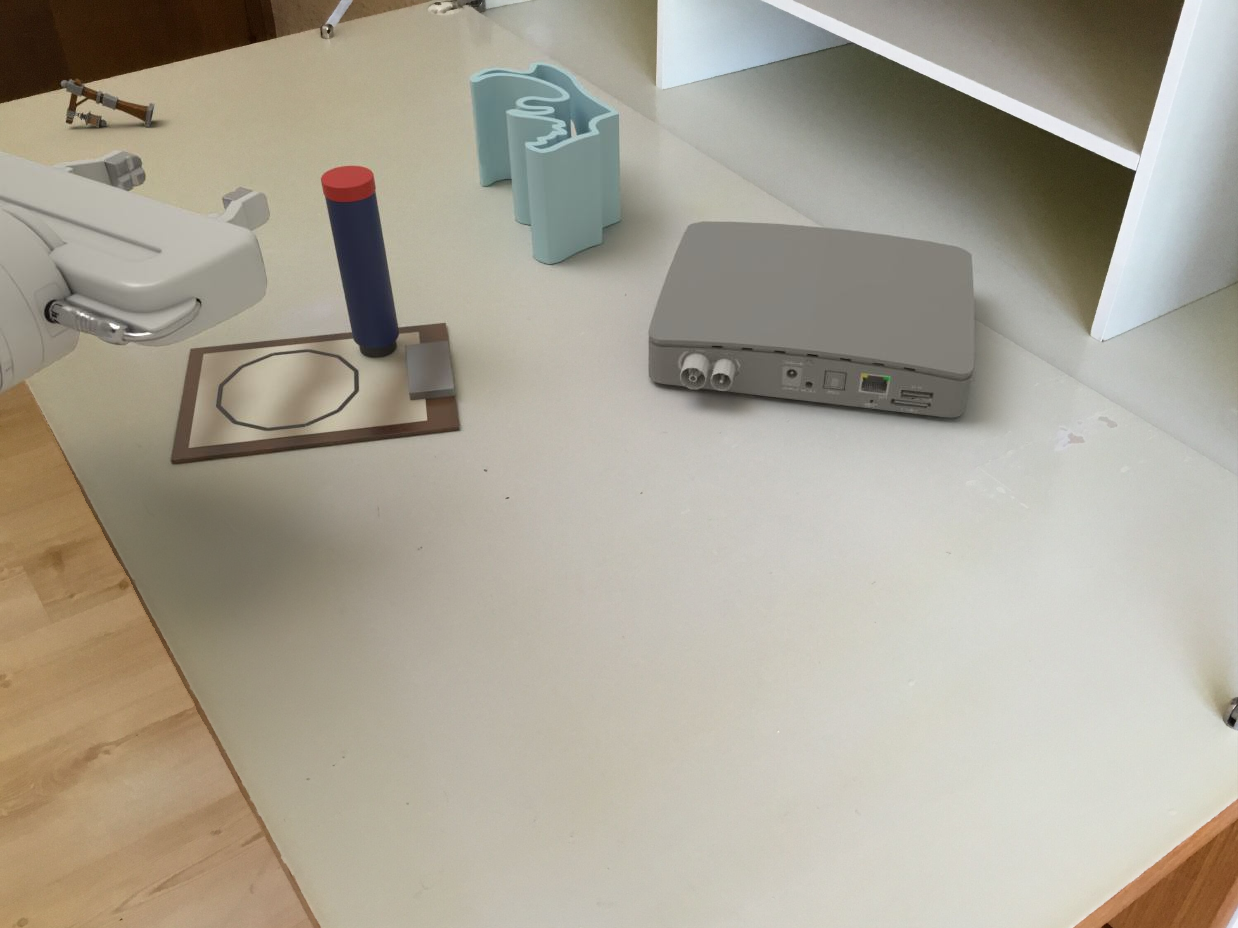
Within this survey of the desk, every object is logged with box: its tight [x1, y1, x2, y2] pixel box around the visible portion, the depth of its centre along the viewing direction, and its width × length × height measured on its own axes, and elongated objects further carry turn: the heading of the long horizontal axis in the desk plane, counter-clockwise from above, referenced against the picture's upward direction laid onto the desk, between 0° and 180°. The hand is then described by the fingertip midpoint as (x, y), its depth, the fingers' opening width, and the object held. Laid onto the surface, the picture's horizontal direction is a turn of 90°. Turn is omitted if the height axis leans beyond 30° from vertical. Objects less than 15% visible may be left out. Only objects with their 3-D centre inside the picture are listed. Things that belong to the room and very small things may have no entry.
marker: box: [320, 165, 399, 358], centre depth 78 cm, size 3×3×13 cm
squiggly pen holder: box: [469, 61, 622, 265], centre depth 96 cm, size 18×10×9 cm, turn 31°
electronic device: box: [647, 220, 975, 419], centre depth 82 cm, size 19×22×5 cm
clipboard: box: [170, 322, 461, 464], centre depth 78 cm, size 18×13×1 cm
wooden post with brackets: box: [60, 78, 155, 129], centre depth 110 cm, size 2×8×4 cm, turn 99°
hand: (195, 182), depth 65 cm, fingers open, 8 cm apart
